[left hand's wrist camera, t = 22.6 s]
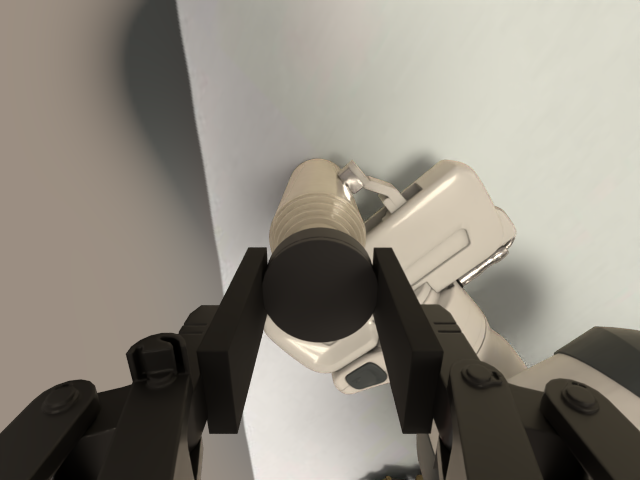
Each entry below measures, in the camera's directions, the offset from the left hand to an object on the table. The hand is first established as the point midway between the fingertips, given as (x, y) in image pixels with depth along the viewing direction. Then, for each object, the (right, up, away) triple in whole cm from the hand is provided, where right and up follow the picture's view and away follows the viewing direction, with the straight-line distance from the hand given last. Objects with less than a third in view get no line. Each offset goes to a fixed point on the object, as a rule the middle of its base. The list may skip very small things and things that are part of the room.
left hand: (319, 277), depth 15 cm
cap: (0, 0, -1) cm, 1 cm away
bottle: (0, +6, +17) cm, 18 cm away
